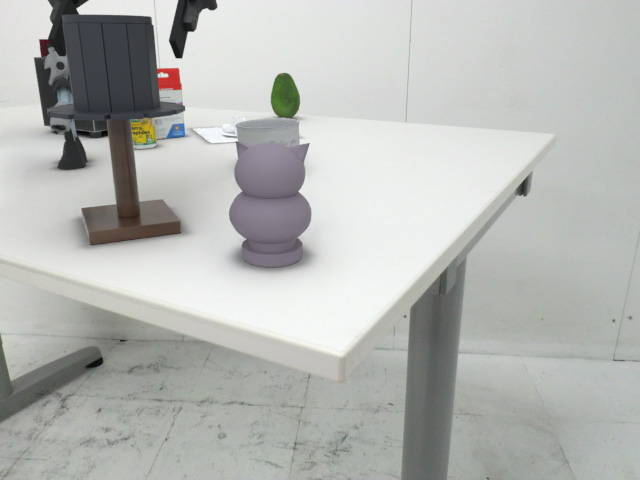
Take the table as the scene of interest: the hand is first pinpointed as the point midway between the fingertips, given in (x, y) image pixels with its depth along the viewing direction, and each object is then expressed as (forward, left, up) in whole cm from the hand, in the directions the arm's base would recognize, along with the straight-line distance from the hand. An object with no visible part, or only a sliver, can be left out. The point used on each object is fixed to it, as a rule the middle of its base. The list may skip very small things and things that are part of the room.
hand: (115, 49), depth 63 cm
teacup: (-23, +27, -20) cm, 41 cm away
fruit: (-75, +51, -20) cm, 93 cm away
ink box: (-59, +15, -20) cm, 64 cm away
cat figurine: (+17, +11, -20) cm, 29 cm away
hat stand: (+1, -1, -20) cm, 20 cm away
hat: (+2, -1, -7) cm, 7 cm away
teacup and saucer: (-57, +33, -20) cm, 69 cm away
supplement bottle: (-49, +9, -20) cm, 53 cm away
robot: (-37, -4, -20) cm, 42 cm away
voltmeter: (-73, +3, -20) cm, 75 cm away
